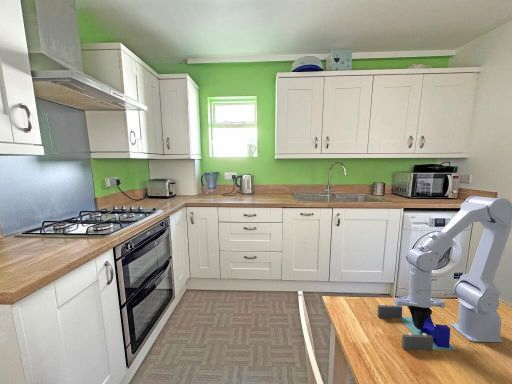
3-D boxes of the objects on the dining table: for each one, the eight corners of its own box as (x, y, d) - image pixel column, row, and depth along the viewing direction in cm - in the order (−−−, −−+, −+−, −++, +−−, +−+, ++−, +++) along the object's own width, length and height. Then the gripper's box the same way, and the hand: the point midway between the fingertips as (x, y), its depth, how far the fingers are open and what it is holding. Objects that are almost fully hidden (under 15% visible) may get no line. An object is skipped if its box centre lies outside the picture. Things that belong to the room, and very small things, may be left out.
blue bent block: (412, 320, 79) (412, 304, 78) (426, 322, 78) (427, 305, 78) (431, 346, 67) (432, 326, 67) (449, 348, 66) (450, 328, 66)
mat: (421, 317, 80) (421, 317, 80) (456, 350, 65) (456, 349, 65) (398, 317, 81) (398, 316, 81) (427, 349, 66) (427, 348, 66)
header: (400, 316, 81) (400, 304, 81) (432, 350, 65) (433, 335, 65) (377, 315, 82) (377, 303, 81) (403, 349, 66) (404, 334, 65)
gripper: (434, 281, 76) (432, 319, 77) (389, 280, 77) (388, 318, 78) (451, 292, 69) (448, 334, 70) (402, 291, 69) (400, 333, 70)
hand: (417, 327), depth 73 cm, fingers closed
